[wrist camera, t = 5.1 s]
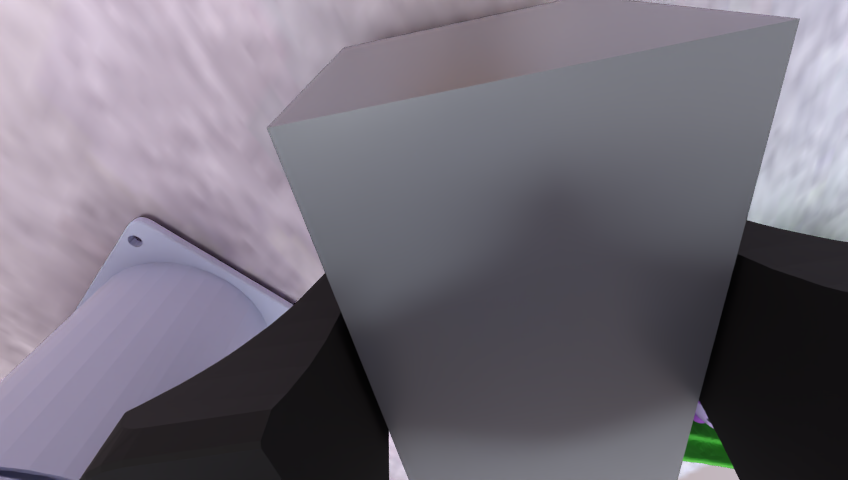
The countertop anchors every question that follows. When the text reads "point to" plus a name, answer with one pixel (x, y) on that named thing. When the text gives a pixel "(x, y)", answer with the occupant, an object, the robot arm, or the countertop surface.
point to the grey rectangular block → (538, 226)
